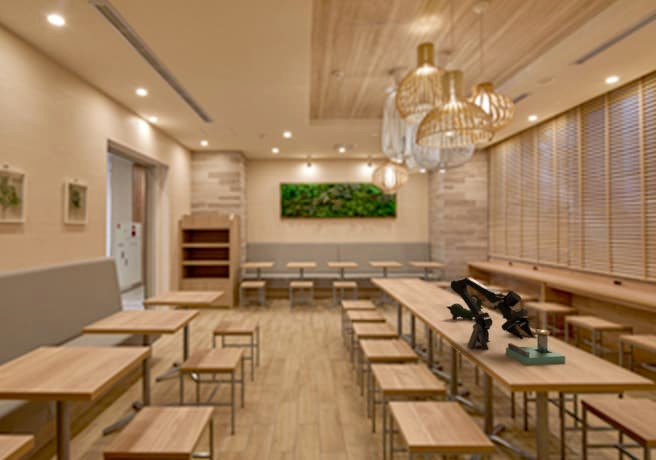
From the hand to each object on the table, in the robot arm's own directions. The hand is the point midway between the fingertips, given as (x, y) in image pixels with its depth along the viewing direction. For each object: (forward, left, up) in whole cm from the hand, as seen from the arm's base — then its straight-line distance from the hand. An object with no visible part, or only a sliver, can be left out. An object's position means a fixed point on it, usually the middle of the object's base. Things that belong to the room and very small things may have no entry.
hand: (527, 337), depth 196 cm
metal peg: (+3, -7, -8) cm, 11 cm away
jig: (-1, -7, -8) cm, 11 cm away
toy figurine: (+5, +74, -8) cm, 75 cm away
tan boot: (+21, +34, -8) cm, 41 cm away
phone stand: (-20, +12, -8) cm, 25 cm away
